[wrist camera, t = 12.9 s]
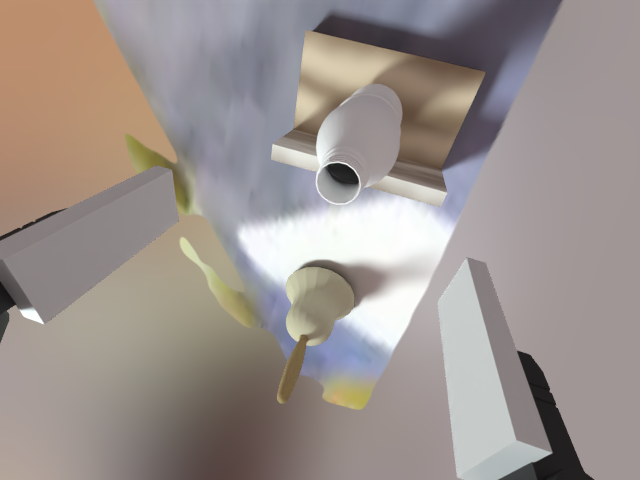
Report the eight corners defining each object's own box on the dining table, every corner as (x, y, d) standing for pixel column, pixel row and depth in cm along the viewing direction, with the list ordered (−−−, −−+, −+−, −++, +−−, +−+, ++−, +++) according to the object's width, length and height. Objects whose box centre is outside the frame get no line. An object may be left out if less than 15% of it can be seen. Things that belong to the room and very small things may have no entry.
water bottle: (413, 95, 36) (420, 156, 16) (386, 148, 40) (365, 248, 20) (361, 71, 36) (303, 102, 16) (340, 126, 40) (273, 205, 20)
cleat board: (312, 31, 38) (282, 26, 29) (480, 70, 35) (504, 78, 27) (297, 137, 46) (271, 159, 37) (433, 174, 44) (440, 207, 35)
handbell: (340, 323, 68) (312, 439, 48) (282, 297, 68) (228, 402, 48) (367, 280, 58) (345, 402, 38) (299, 250, 59) (242, 356, 39)
